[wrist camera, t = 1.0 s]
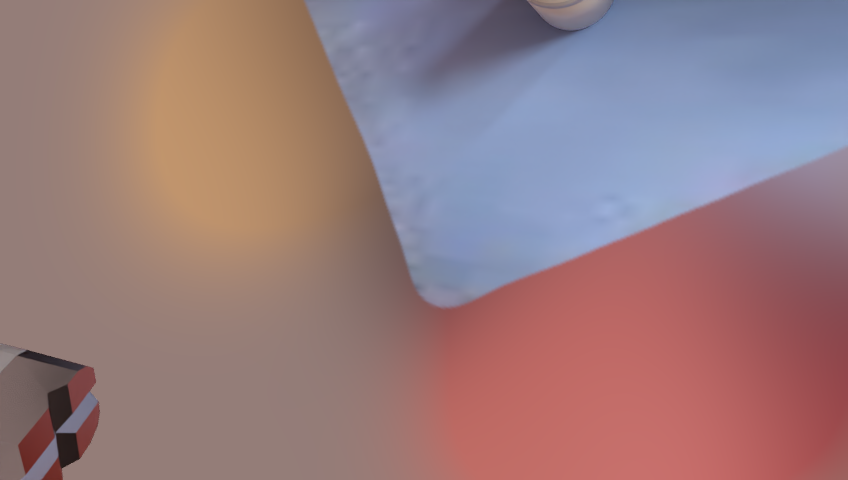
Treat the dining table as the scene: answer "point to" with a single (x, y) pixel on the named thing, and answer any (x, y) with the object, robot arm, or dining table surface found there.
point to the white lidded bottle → (571, 12)
